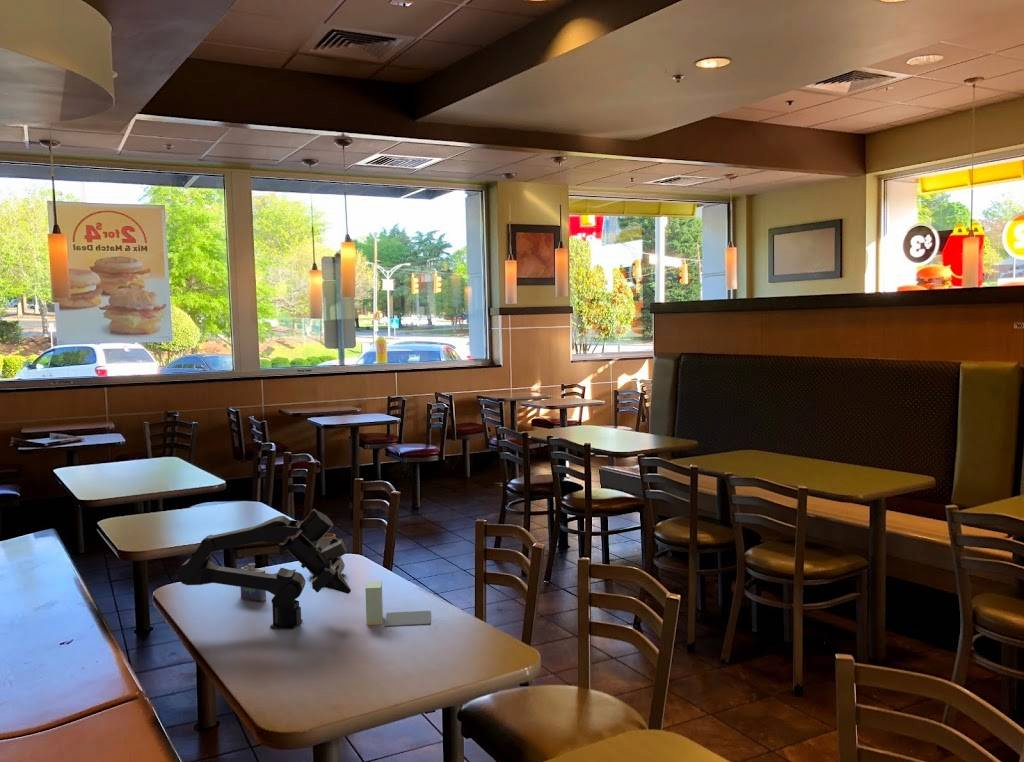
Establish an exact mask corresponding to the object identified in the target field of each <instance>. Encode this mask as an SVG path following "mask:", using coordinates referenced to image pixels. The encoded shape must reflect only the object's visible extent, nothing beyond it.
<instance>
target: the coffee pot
mask: <svg viewBox="0 0 1024 762" xmlns="http://www.w3.org/2000/svg"><path fill="white" fill-rule="evenodd" d="M335 537H336V534H335V533H330V532H329V533H328V532H327V533H326V534H325V535H324V536H323V537H322V538H321V539H320V540H319V541H316V542H317V543H316V545H315V546H316V547H317V546H321V547H322V548H323V549H324V548H326V547H327V546H328V545H330V541H331V539H333V538H335ZM336 538H337V537H336ZM340 539H341V540H342V541H344V542H345V541H346V544H345V546H347V544H348V540H347V539H345V538H340ZM339 564H340V573H342V572H343V571H344V569H345V566H346V565H345V562H344V560H343V558H342V557H341V558H340V560H339V561H338V560H337V561H336V562H335V563H334V565H333V566H335V567H337V566H338V565H339ZM308 572H309V573H310V574H311V576H313V574H312V573H311V572H310V571H309V570H308Z"/></svg>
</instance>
